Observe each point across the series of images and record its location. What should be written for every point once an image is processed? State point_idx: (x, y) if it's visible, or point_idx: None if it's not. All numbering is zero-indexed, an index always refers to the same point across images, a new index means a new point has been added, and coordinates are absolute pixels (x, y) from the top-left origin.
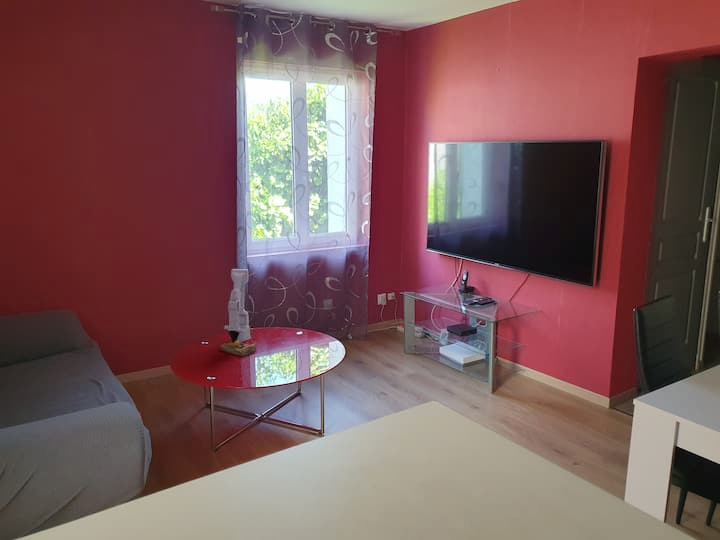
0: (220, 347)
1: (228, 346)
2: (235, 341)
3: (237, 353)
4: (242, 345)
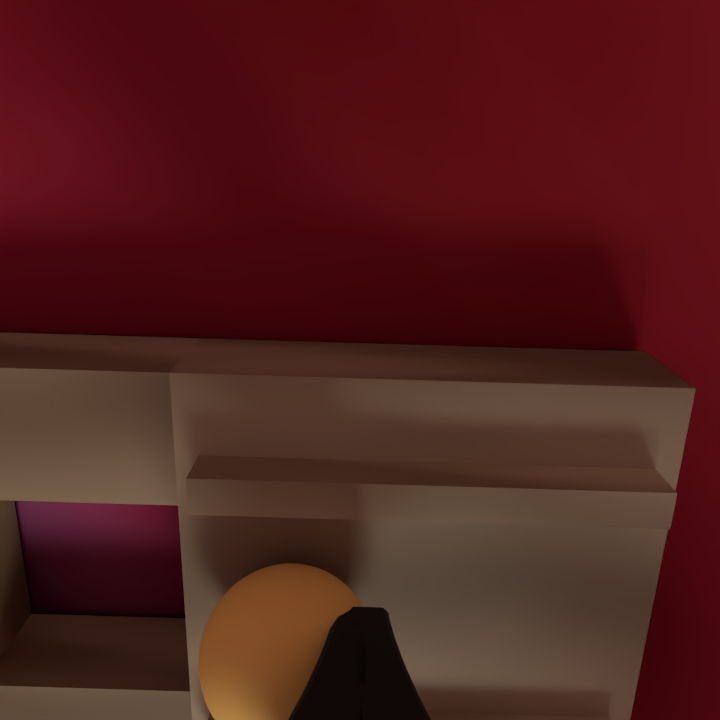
0: (657, 373)
1: (438, 466)
2: (270, 672)
3: (45, 344)
4: None
